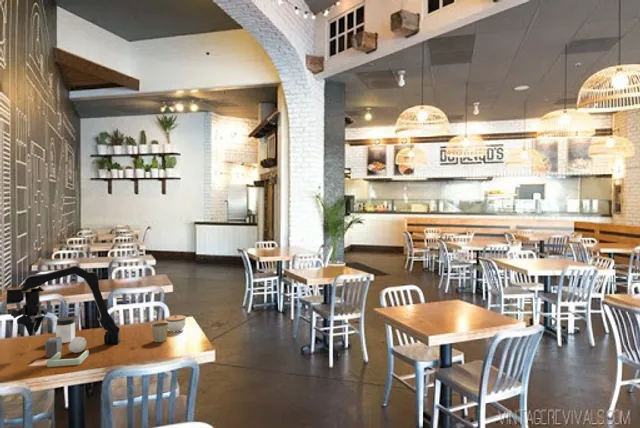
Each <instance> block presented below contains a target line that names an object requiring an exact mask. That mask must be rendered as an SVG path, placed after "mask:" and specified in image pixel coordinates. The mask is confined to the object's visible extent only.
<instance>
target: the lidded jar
mask: <svg viewBox="0 0 640 428" xmlns="http://www.w3.org/2000/svg"><path fill="white" fill-rule="evenodd" d="M165 320H166V321H165V323H169V325H168V329H167V330H168V331H170V332H171V331H173V332H172V333H175V332H174V331H180V330H183V329H184V328H185V326H186V315H181V314H180V315H179V314H178V315H177V314H174V315H170V316H167V317H166V318H165ZM180 332H181V331H180Z"/></svg>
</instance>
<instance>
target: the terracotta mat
mask: <svg viewBox="0 0 640 428" xmlns="http://www.w3.org/2000/svg"><path fill="white" fill-rule="evenodd" d="M49 359H50V358H48V359H47V358H45V359H36V360H34V362H32V363H30V364H29V365H28V368H31V367H43V366H44V367H46V366H47V361H48V360H49Z"/></svg>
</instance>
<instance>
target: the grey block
mask: <svg viewBox="0 0 640 428" xmlns="http://www.w3.org/2000/svg"><path fill="white" fill-rule="evenodd" d="M44 342H45V343H44V344H45V359H47V358H48V359H49V358H52V357H53V356H54V355H55V354H57V353H58V352H61V354H62V353H63V343H62V337H56V336H52V337H49V338H47V339H46V340H45V341H44Z"/></svg>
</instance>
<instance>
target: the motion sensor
mask: <svg viewBox="0 0 640 428" xmlns="http://www.w3.org/2000/svg"><path fill="white" fill-rule="evenodd" d="M67 346H68V347H67V348H68V350H69V351H70V352H71V353H74V354H78V353H81V352H83V351H85V349H86V347H87V340H86V338H84V337H83V336H75V338H73V339H72V342H69V344H68V345H67Z"/></svg>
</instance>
